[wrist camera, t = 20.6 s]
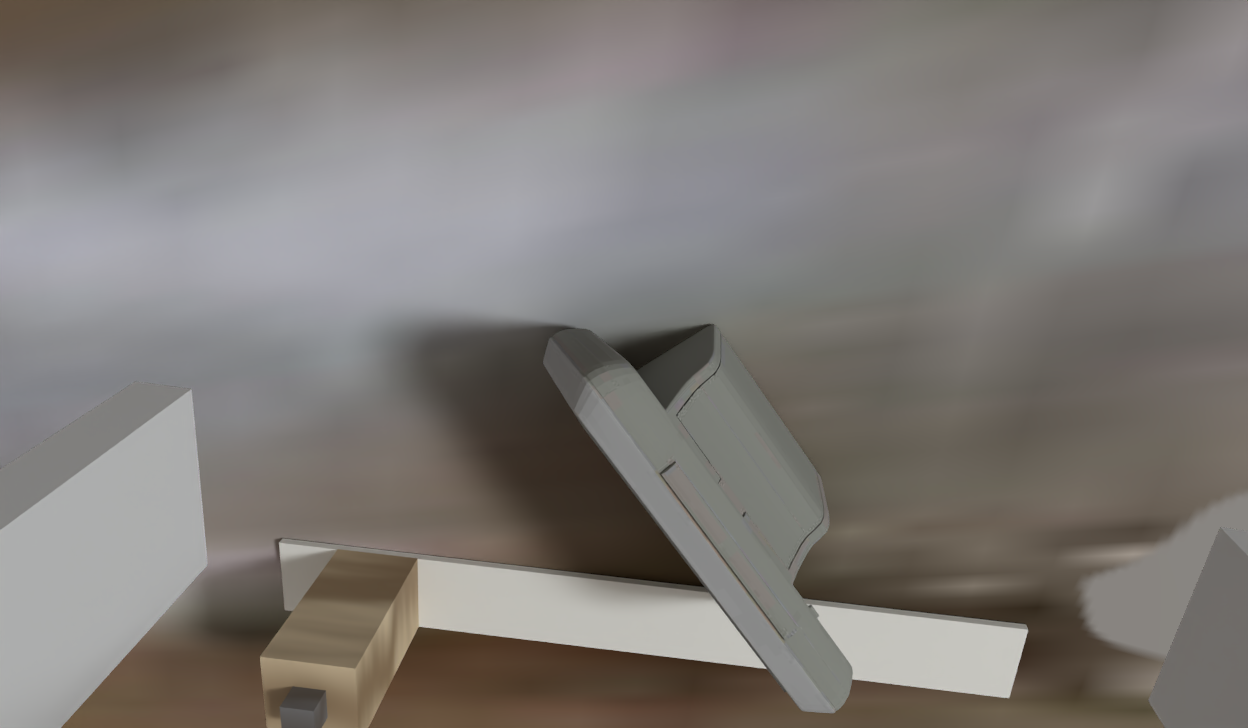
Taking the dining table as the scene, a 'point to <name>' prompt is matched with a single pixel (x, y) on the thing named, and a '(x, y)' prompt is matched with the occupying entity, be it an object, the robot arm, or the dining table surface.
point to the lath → (680, 620)
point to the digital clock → (715, 489)
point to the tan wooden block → (342, 643)
